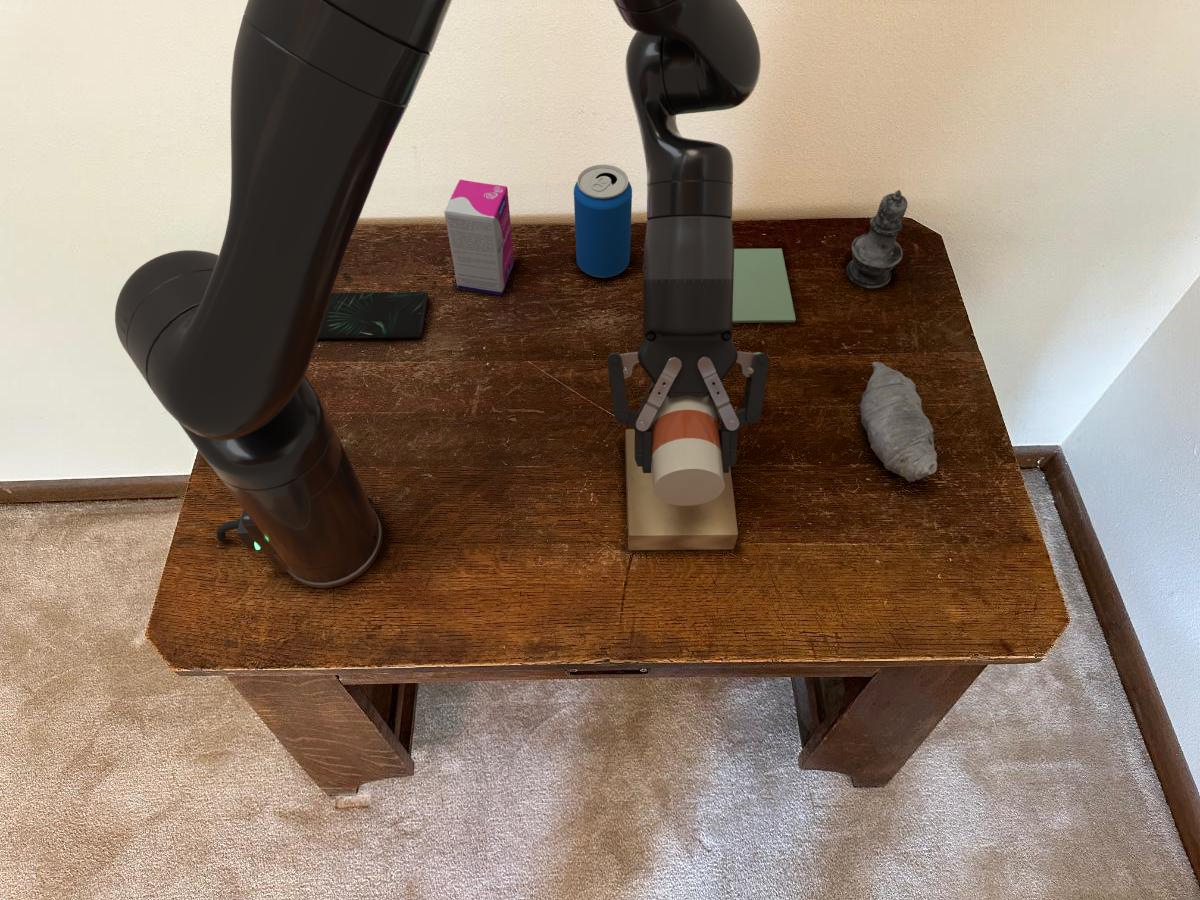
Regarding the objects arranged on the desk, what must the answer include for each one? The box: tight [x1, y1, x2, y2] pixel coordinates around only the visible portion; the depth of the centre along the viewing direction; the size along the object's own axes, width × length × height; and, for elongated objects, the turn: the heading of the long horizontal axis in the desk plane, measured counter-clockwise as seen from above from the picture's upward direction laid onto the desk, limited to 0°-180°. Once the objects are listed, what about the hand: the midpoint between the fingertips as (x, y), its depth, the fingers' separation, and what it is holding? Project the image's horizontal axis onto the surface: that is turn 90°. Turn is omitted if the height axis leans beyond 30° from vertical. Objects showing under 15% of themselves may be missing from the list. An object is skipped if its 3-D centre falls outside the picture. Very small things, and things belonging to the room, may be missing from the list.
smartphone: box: [317, 291, 429, 340], centre depth 91 cm, size 7×1×15 cm
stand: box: [624, 428, 739, 551], centre depth 77 cm, size 10×12×3 cm
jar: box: [647, 379, 725, 506], centre depth 70 cm, size 6×11×6 cm, turn 0°
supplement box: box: [443, 179, 515, 296], centre depth 91 cm, size 6×6×12 cm
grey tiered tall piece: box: [845, 189, 909, 289], centre depth 91 cm, size 6×6×12 cm
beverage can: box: [573, 164, 633, 279], centre depth 92 cm, size 6×6×12 cm
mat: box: [732, 247, 797, 324], centre depth 95 cm, size 12×12×1 cm
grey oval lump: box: [859, 361, 938, 482], centre depth 80 cm, size 6×14×8 cm, turn 5°
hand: (685, 470), depth 70 cm, fingers closed on jar, 6 cm apart
